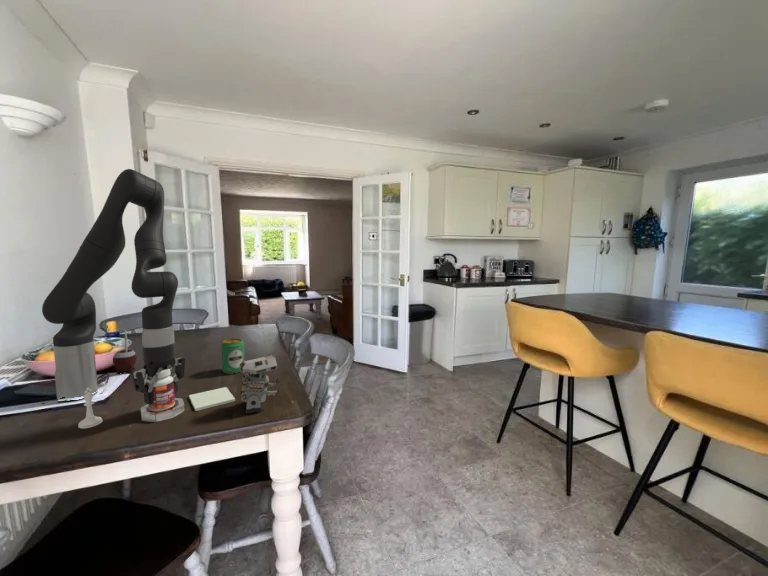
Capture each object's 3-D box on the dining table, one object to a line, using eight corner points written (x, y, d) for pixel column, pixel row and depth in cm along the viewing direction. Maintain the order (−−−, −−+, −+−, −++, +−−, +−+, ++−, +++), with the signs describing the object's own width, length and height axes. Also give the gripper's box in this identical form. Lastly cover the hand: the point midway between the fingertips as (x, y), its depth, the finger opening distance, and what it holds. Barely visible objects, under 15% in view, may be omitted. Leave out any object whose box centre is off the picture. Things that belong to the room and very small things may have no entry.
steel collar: (142, 425, 89) (141, 418, 89) (140, 410, 97) (140, 403, 97) (186, 414, 96) (185, 407, 95) (181, 401, 104) (180, 395, 103)
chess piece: (107, 419, 92) (104, 384, 91) (92, 428, 87) (89, 392, 86) (88, 418, 92) (85, 384, 91) (73, 428, 87) (69, 391, 86)
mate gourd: (122, 376, 122) (119, 336, 120) (107, 373, 124) (104, 334, 123) (142, 369, 129) (140, 331, 127) (128, 367, 131) (126, 329, 130)
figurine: (281, 409, 100) (281, 361, 98) (239, 415, 96) (238, 365, 94) (279, 396, 108) (279, 352, 106) (241, 401, 104) (239, 355, 102)
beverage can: (225, 376, 124) (224, 344, 123) (219, 369, 130) (218, 340, 129) (247, 371, 129) (246, 341, 128) (241, 365, 135) (240, 336, 134)
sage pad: (195, 411, 98) (195, 408, 97) (189, 397, 106) (189, 395, 106) (235, 401, 104) (235, 398, 104) (226, 389, 113) (226, 386, 113)
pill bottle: (158, 414, 92) (154, 375, 91) (144, 409, 95) (141, 371, 93) (180, 404, 98) (177, 367, 96) (166, 400, 100) (163, 364, 99)
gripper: (173, 334, 102) (176, 387, 104) (122, 347, 89) (126, 407, 91) (191, 337, 99) (193, 391, 101) (140, 351, 86) (144, 412, 88)
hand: (161, 398), depth 96 cm, fingers closed on pill bottle, 6 cm apart
